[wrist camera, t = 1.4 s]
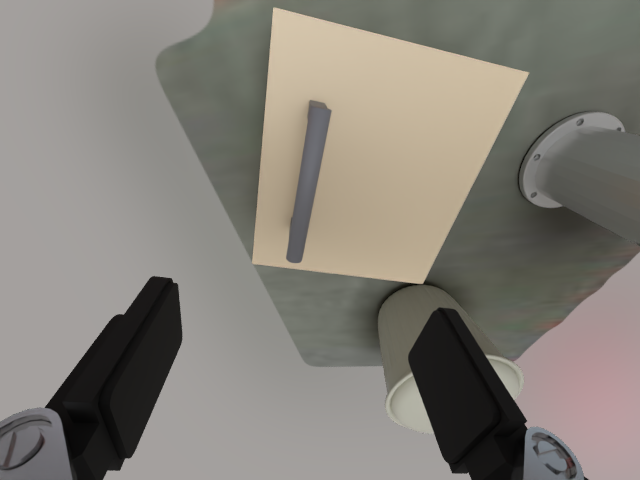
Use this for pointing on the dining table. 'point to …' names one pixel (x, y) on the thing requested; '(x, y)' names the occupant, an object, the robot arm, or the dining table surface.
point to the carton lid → (369, 148)
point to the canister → (398, 339)
